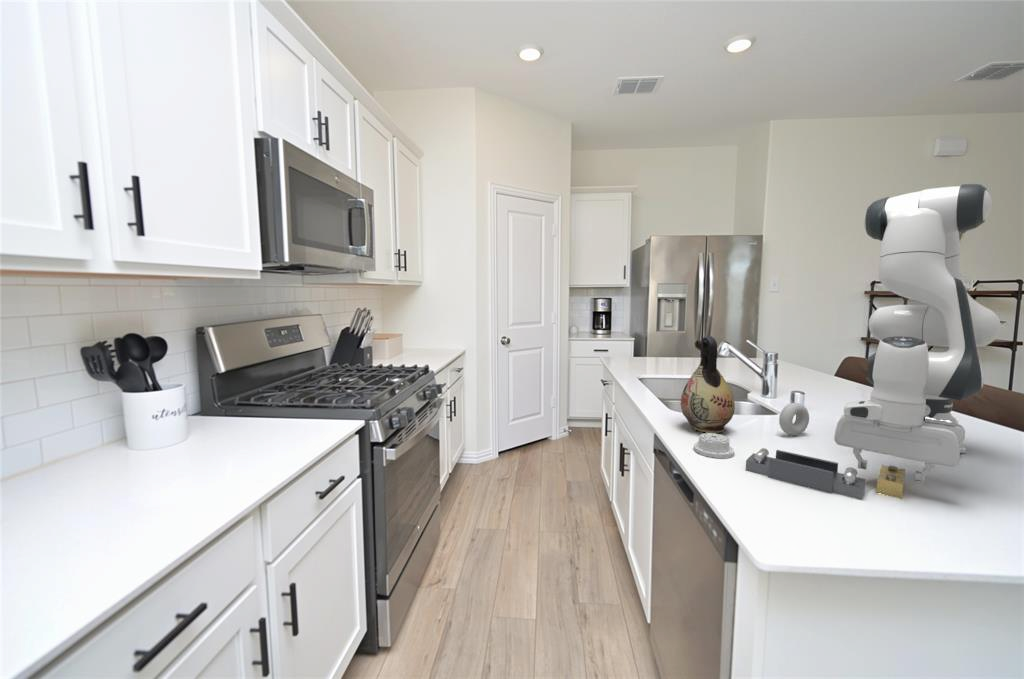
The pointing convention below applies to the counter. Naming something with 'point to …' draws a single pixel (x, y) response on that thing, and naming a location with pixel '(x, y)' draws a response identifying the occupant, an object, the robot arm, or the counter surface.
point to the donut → (787, 419)
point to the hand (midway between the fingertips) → (889, 474)
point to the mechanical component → (714, 446)
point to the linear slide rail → (807, 472)
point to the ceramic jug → (707, 393)
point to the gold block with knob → (891, 481)
